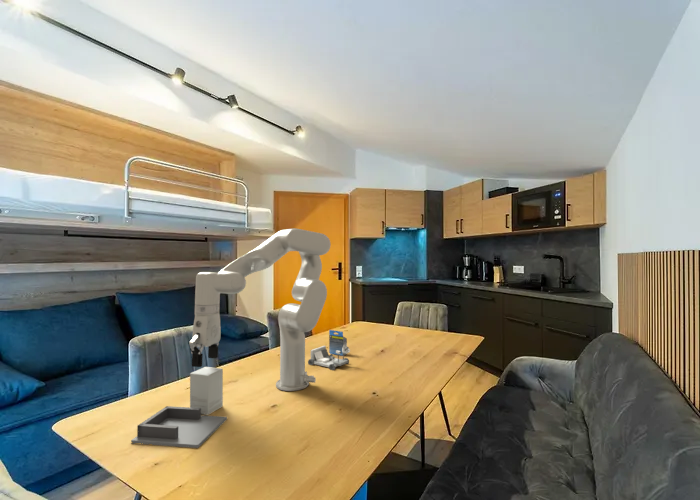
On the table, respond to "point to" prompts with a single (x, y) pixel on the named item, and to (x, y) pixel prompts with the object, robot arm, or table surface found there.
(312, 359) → the toy car
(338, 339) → the label tape cartridge
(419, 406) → the table surface
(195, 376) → the supplement box
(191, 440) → the box holder
